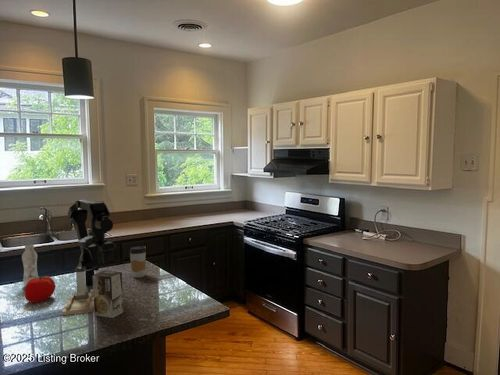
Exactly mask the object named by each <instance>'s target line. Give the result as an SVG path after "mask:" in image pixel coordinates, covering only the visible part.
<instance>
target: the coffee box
mask: <svg viewBox="0 0 500 375" xmlns="http://www.w3.org/2000/svg"><path fill="white" fill-rule="evenodd" d="M122 273H123V272H122V271H112V270H111V271H110V270H102V271H99V272H97V273H95V275H93V284H92V287H93V293H94V309H93V312H94V317H95V316H96V317H103V318H110V319H111V318H112V319H113V318H116V317H118V316H119V315H121V314H123V313H124V296H123V274H122Z"/></svg>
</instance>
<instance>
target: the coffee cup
mask: <svg viewBox="0 0 500 375" xmlns="http://www.w3.org/2000/svg"><path fill="white" fill-rule="evenodd" d="M146 252H147V249H146V246H143V245H138V246H132V247H130V249H129V257H130V267H131V276H132V277H133V278H137V279H138V278H143V277H145V275H146V257H147V256H146V255H147V253H146Z"/></svg>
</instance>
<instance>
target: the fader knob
mask: <svg viewBox="0 0 500 375" xmlns="http://www.w3.org/2000/svg"><path fill="white" fill-rule="evenodd" d="M85 271H86V267H85V266H80V267H75V275H76V276H75V279H76V281H75V282H76V293H75V296H74V299H83V298H88V296H89V293H90V291H87V286H86V275H85Z"/></svg>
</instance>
